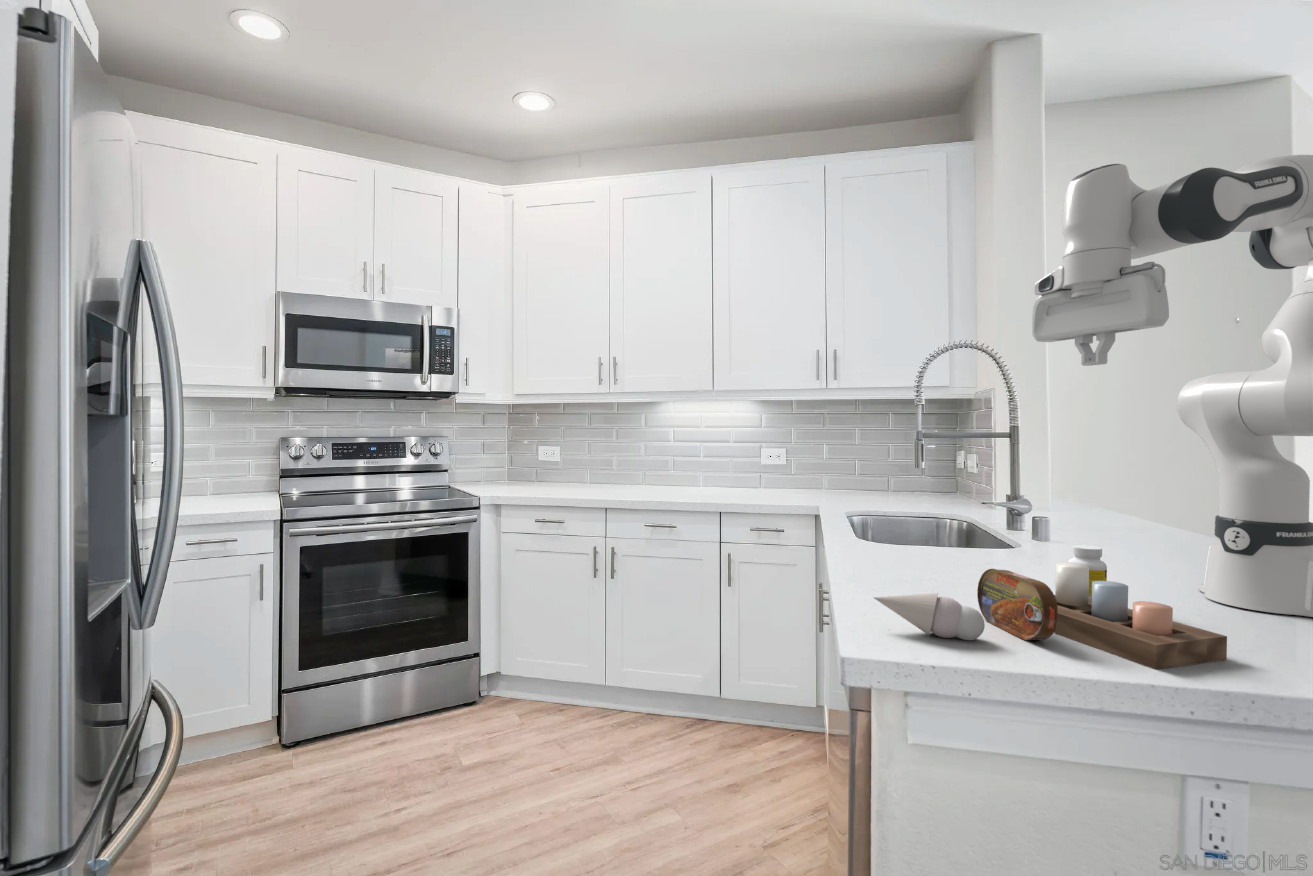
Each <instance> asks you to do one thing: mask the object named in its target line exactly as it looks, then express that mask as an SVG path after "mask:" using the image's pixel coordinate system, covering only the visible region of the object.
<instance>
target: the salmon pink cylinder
mask: <svg viewBox="0 0 1313 876" xmlns="http://www.w3.org/2000/svg"><path fill="white" fill-rule="evenodd" d="M1132 610H1133V622H1132V628H1133V629H1136V630H1139V631H1142V632H1145V633H1149V634H1152V635H1155V636H1162V635H1170V634H1172V622H1173V621H1174V619H1173V615H1174V613H1173V612H1174V611H1173V610H1174V609H1173V607H1172V606H1170V605H1167V604H1163V603H1160V602H1153V601H1143V600H1141V601H1133V602H1132Z"/></svg>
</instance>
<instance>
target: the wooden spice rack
mask: <svg viewBox="0 0 1313 876" xmlns="http://www.w3.org/2000/svg"><path fill="white" fill-rule="evenodd" d="M1054 596H1055V594H1054ZM1057 606H1058V617H1057V624H1056V629H1055V632H1054V633H1053V634H1056V635H1059V636H1062V637H1065V638H1068V639H1070V640H1073V641H1076V642H1078V643H1082V644H1085V645H1087V646H1090V647H1092V648H1095V649H1098V650H1101V651H1104V652H1105V653H1109V654H1112V655H1115V656H1118V657H1119V658H1120V657H1121V658H1122V659H1126V660H1129V661H1131V662H1134V663H1138V664H1140V665H1142V666H1144V667H1148V668H1151V669H1154V670H1160V669H1161V670H1163V669H1169V668H1175V667H1182V666H1189V665H1190V666H1191V665H1196V664H1203V663H1204V664H1205V663H1211V662H1219V661H1225V660H1227V658H1228V657H1227V656H1228V655H1227V654H1228V653H1227V652H1228V650H1227V649H1228V635H1225V634H1220V633H1217V632H1213V631H1209V630H1206V629H1203V628H1200V627H1196V626H1193V625H1188V624H1186V623H1181V622H1177V621H1174V620H1173V622H1172V634H1170V635H1162V636H1155V635H1152V634H1149V633H1145V632H1142V631H1139V630H1136V629H1133V628H1132V622H1133V608H1129V607H1128V621H1120V622H1110V621H1107V620H1104V619H1100V618H1097V617H1094V616H1092V598H1090V597H1089V605H1087V606H1071V605H1065V604H1061V603H1058V602H1057Z"/></svg>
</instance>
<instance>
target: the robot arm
mask: <svg viewBox="0 0 1313 876" xmlns="http://www.w3.org/2000/svg"><path fill="white" fill-rule="evenodd" d="M1064 194H1065V195H1064V199H1063V208H1062V225H1061V226H1062V236H1063V237H1064V242H1065V243H1064V249H1063V252H1062V256H1061V265H1059V266H1058V267H1056V268H1055V269H1054V270H1053V271H1052V272H1050V273H1048V274H1046V275H1045V276H1043V278H1040V279H1039V280H1037V281H1036V282H1035V284H1034V286H1033V293H1034V295H1036V296H1038V297H1037V298H1036V300H1035V301H1034V303H1033V306H1032V315H1031V316H1032V318H1031V334H1032V336H1033V338H1034V340H1036V342H1038V343H1039V342H1040V343H1053V342H1062V341H1069V340H1074V346H1075V347H1076V348H1077V350H1078V352H1079V353H1080V354H1079V355H1081V366H1084V367H1089V366H1101V365H1106V364H1107V363H1108V356H1109V355H1108V353H1109V352H1110V351H1111V349H1112V347H1113V345H1114V344H1115V342H1116V334H1119V333H1125V332H1132V331H1133V332H1134V331H1139V330H1146V329H1147V330H1148V329H1155V328H1162V327H1163V326H1165V324H1166V323H1167V321H1168V320H1169V318H1170V308H1169V307H1170V306H1169V297H1168V292H1167V291H1168V290H1167V286H1166V269H1165V268H1164V266H1162V265H1161V264H1159V263H1156V262H1155V261H1148V262H1144V263H1142V264H1137V265H1136V264H1135V265H1132V260H1136V259H1141V258H1144V257H1149V256H1153V255H1157V254H1160V253H1164V252H1168V251H1171V250H1176V249H1178V248H1179V249H1180V248H1182V247H1187V246H1192V245H1195V244H1201V243H1207V242H1211V241H1216V240H1220V239H1223V238H1224V237H1226V236H1228V235H1230V233H1232V232H1233V233H1235V232H1236V233H1248V232H1249V233H1250V236H1249V238H1248V239H1249V242H1248V246H1249V253H1250V255H1251V256H1252V258H1253V259H1254V261H1256V263H1258V264H1259V265H1260V266H1261V267H1262V268H1264V269H1267V270H1292V269H1295V268H1297V267H1302V266H1306V267H1307V266H1308V267H1307V272H1306V275H1305V276H1304V277H1305V278H1304V279H1302V281H1301V282H1300V283H1299V284H1298V285H1297V286H1296V287H1295V288H1294V290H1292V292H1291V294H1289V296H1288V297H1287V298H1286V300H1285V301H1284V302H1283V304H1282V306H1281V307H1280V309H1279V310H1278V311H1277V313H1276V314H1275V316H1274V317H1273V318H1272V320H1271V322H1270V323H1269V325H1267V327H1266V329H1265V330H1264V332H1263V333H1262V336H1261V347H1262V351H1263V353H1264V355H1266V357H1267V358H1268V359H1269V360H1270V361H1271V362H1273V363H1274V364H1273V365H1271V366H1269V367H1266V368H1261V369H1251V370H1238V371H1225V372H1218V373H1214V374H1208V375H1205V376H1201V377H1198V378H1194V379H1191V380H1189V381H1188V382H1187V383H1185V384H1184V386H1183V387H1182V388H1181V390H1180V391H1179V394H1178V395H1177V398H1176V399H1177V400H1176V411H1177V414H1178V418H1179V420H1180V421H1181V422H1182V423H1183V424H1184V425H1185V426H1186V427H1187V428H1189V429H1190V430H1191V431H1193V432H1194V433H1195V434H1197V436H1199V438H1200V439H1201V441H1202V442H1203V443H1204V444H1205V446H1206V447H1207V449H1208V451H1209V452H1210V454H1211V457H1212V459H1213V463H1214V465H1215V468H1216V474H1217V490H1218V514H1217V515H1216V516H1214V517H1215V519H1214V523H1213V527H1214V536H1215V537H1216V538H1217V539H1216V540H1215V542H1214V543H1212V544H1211V545H1210V546H1209V548H1208V553H1207V559H1206V565H1205V566H1206V567H1205V574H1204V575H1205V576H1204V582H1203V583H1198V586H1197V590H1198V591H1199V592H1202V593H1203V595H1204V597H1205V598H1206V599H1209V600H1211V601H1213V602H1216V603H1220V604H1223V605H1226V606H1227V605H1228V606H1232V607H1235V608H1240V609H1247V610H1250V611H1251V610H1252V611H1259V612H1265V613H1272V614H1279V615H1280V614H1282V615H1295V616H1304V617H1311V618H1313V521H1310V493H1311V492H1310V491H1311V490H1310V488H1311V485H1310V483H1311V480H1310V477H1309V475H1308V473H1307V472H1306V471H1305V469H1304V468H1303V467H1301V466H1300V465H1299V464H1296V463H1295V462H1293V461H1291V460H1289V459H1287V458H1285V457H1284V456H1283V455H1282V454H1281V453H1280V452H1279V451H1278V449H1277V447H1276V445H1275V442H1274V439H1273V436H1279V437H1281V436H1282V437H1313V154H1292V155H1290V154H1289V155H1282V156H1277V157H1272V158H1270V157H1269V158H1266V159H1262V160H1258V161H1255V162H1253V163H1249V164H1247V165H1244V166H1242V167H1239V168H1237V169H1235V170H1233V171H1231V170H1227V169H1223V168H1218V167H1205V168H1201V169H1199V170H1196V171H1193V172H1191V173H1189V174H1187V175H1185V176H1182V177H1181V178H1179V179H1177V180H1173V181H1170V182H1169V183H1164V184H1163V185H1160V186H1158V187H1154V188H1152V189H1149V190H1148V189H1144V188H1142V187H1141V186H1139V185H1137V184H1136V183H1135V182H1134V181H1133V180H1132V179H1131V178H1130V173H1129V170H1128V167H1127V165H1125V164H1122V163H1111V164H1106V165H1102V166H1099V167H1095V168H1092V169H1088V170H1087V171H1085V172H1082V173H1080V174H1078V175H1076V176H1075V177H1073V178H1072V179H1071V180H1070V182H1068V184H1067V187H1066V190H1065V193H1064ZM1094 337H1096V338H1095V340H1096V341H1097V342H1098V344H1097V347H1096V349H1095V350H1093V348H1092V347H1091V344H1094Z"/></svg>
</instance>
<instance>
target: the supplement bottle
mask: <svg viewBox="0 0 1313 876" xmlns="http://www.w3.org/2000/svg"><path fill="white" fill-rule="evenodd" d="M1072 548H1073V549H1072V554H1073V556H1074V557H1072V558H1070V559H1069V560H1067V561H1068V562H1067V563H1075V564H1081V565H1086V566H1088V567H1089V597H1090V598H1092V582H1093V581H1108V578H1107V577H1108V569H1107V567H1108V566H1107V564H1106V562H1105V561H1102V560H1101V558H1102V557H1103V548H1102V547H1100V546H1095V545H1088V544H1077V545H1076V544H1075V545H1073V546H1072Z"/></svg>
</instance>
